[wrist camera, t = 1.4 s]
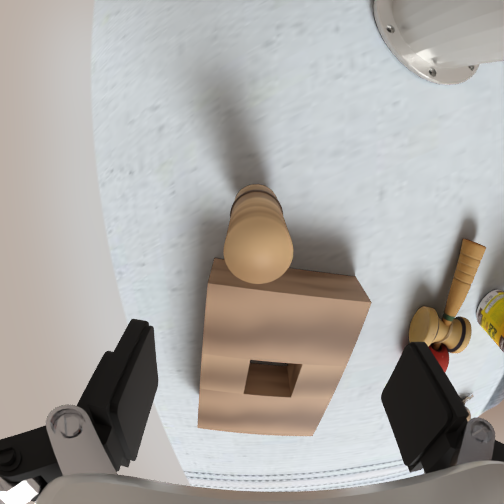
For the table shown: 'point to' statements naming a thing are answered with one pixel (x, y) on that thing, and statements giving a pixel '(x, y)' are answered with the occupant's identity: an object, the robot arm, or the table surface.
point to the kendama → (449, 310)
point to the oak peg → (257, 237)
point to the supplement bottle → (493, 316)
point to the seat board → (276, 349)
